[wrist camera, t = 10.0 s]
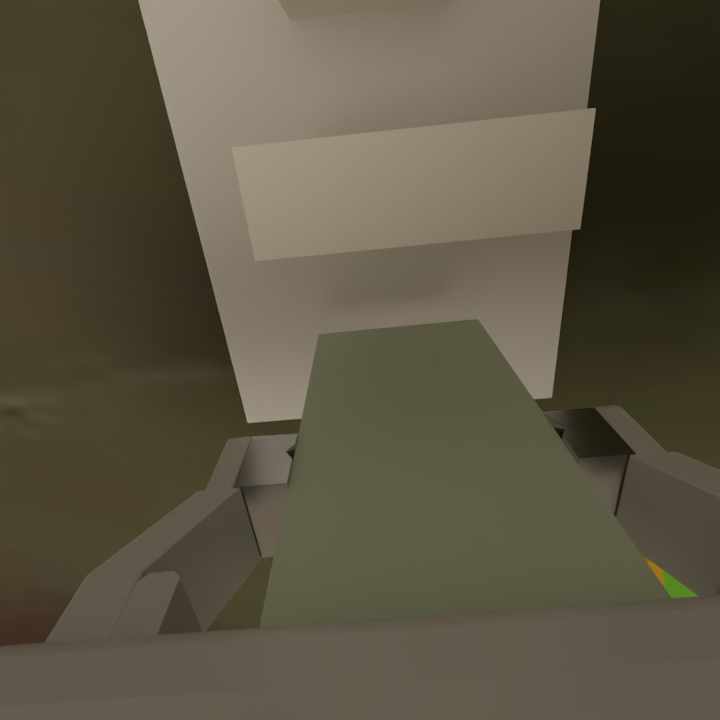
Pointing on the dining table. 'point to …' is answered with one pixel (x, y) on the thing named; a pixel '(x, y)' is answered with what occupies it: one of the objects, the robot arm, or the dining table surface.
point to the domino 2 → (416, 185)
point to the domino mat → (354, 116)
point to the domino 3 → (437, 490)
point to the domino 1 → (343, 6)
